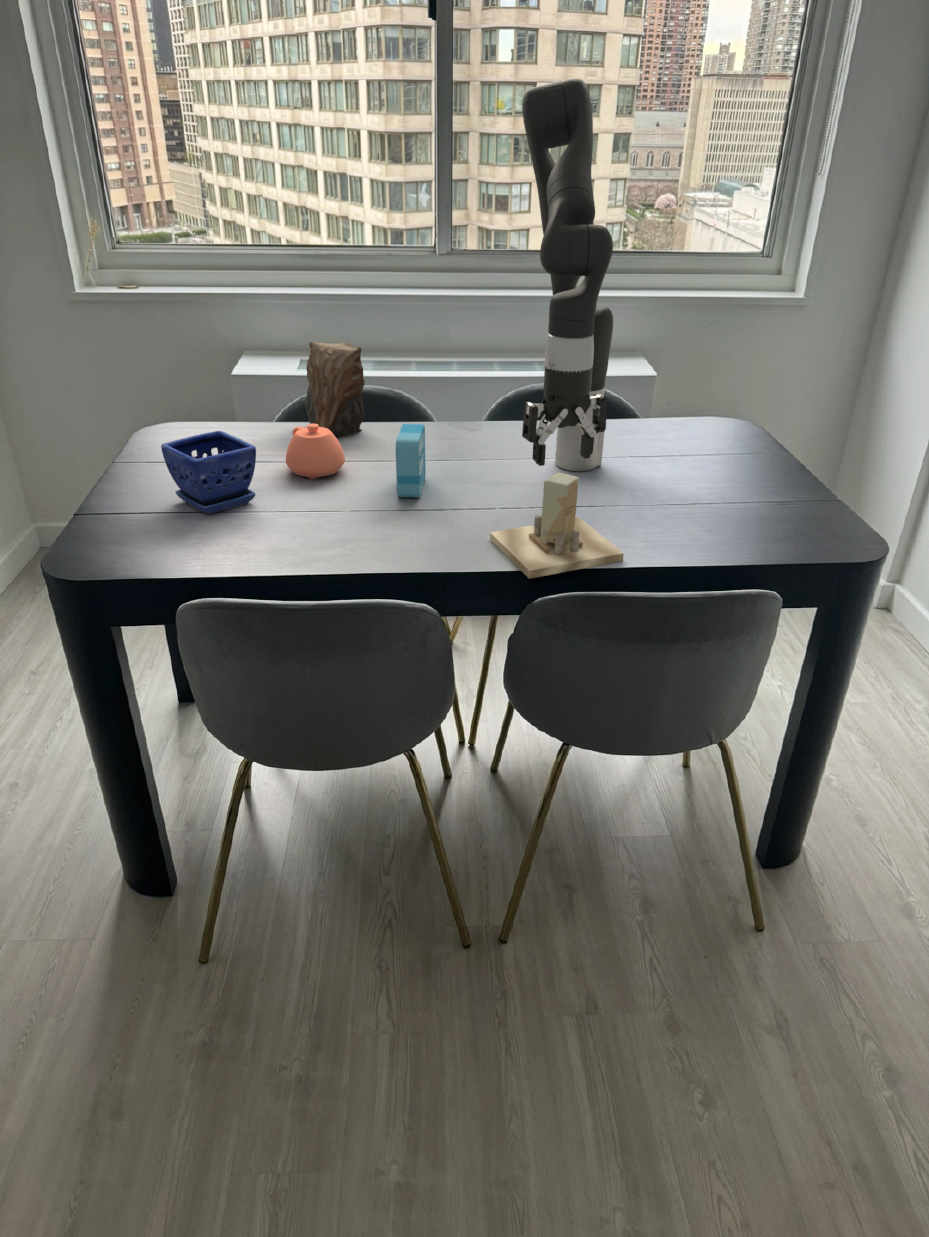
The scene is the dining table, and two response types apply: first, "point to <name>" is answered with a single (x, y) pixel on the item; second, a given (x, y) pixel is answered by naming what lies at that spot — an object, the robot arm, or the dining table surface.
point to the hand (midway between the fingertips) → (562, 460)
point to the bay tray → (555, 549)
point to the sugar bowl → (314, 452)
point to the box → (559, 506)
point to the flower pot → (211, 470)
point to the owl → (335, 387)
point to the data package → (410, 460)
